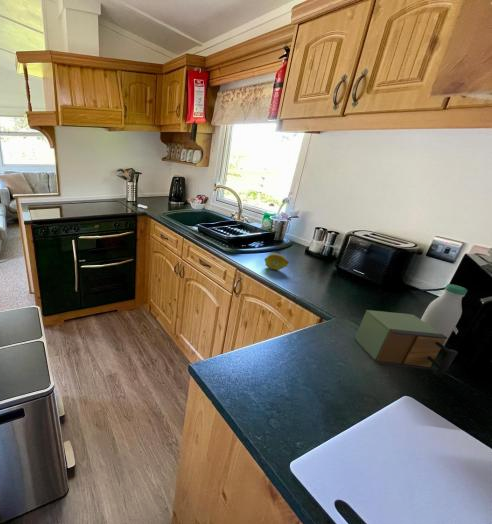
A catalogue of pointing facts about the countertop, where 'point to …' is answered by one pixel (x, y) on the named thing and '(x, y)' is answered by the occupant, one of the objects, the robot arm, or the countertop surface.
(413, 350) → the sliding door
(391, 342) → the cupboard
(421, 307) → the countertop surface
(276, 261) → the lemon
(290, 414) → the countertop surface
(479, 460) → the countertop surface
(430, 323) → the milk bottle
